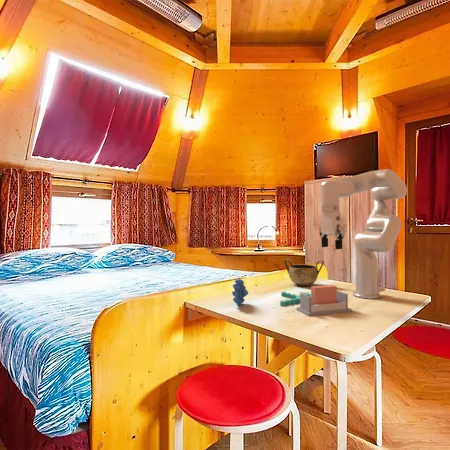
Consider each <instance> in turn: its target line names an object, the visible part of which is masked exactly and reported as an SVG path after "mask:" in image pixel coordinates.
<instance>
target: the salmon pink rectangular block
mask: <svg viewBox="0 0 450 450" xmlns="http://www.w3.org/2000/svg"><path fill="white" fill-rule="evenodd" d="M310 286H311V287H310V288H311V289H310V291H311V292H310V294H311V305H318V304H329V303H337V291H338V290H337V287H338V286H336V285H333V284H328V285H313V286H312V285H310Z"/></svg>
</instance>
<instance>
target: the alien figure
mask: <svg viewBox="0 0 450 450" xmlns="http://www.w3.org/2000/svg"><path fill="white" fill-rule="evenodd" d="M280 293H281V295H280V297H285V298H288V299H285V300H280V307H286V306H291V305H296V304H300V295H297V294H294V293H291V292H287V291H281V292H280ZM300 293H303V294H305V295H308V296H310V297H311V293H310V292H299V294H300ZM289 298H290V299H289Z"/></svg>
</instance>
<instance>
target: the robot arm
mask: <svg viewBox="0 0 450 450" xmlns="http://www.w3.org/2000/svg"><path fill="white" fill-rule="evenodd" d="M369 190H370V196H371V201H372V205H373V207H372V209H371V212H370V213H369V216H368V217H367V220H366V221H365V224H364V226H365V227H364V228H365V230H366V231H359V232H357V233H355V236H354V239H353V243H354V244H353V245H354V248H355V256H356V257H355V260H356V261H355V265H356V266H355V271H356V272H355V290H354V291H353V292H352V295H353V296H354V297H357V298H362V299H368V300H369V299H375V300H376V299H380V298H381V297H382V294H381V293H380V292H385V291H386V288H385V287H384V286H383V287H380V286H378V259H377V256H376V254H375V252H376V253H388V252H390V251H391V250H392V248H393V247H394V245H395V244H396V243H395V242H396V240H397V238H398V237H399V234H400V231H401V228H402V221H401V219H400V217H399V216H398V215H395V214H391V213H392V210H391V207H390V205H389V204H388V203H387V200H388V201H389V200H401V199H404V198H405V197H406V195H407V193H408V188H407V185H406V183H405V182H404V181H403V180H402V179H401V177H400V176H399V175H398V174H397V173H396V172H394V171H393V170H391V169H389V168H384V169H377V170H369V171H367V172H364V173H363V172H362V173H360V174H357V175H352V176H348V177H345V178H339V179H336V180H329V181H328V180H327V181H323V182H321V185H320V194H321V195H320V199H321V200H320V201H321V218H320V227H318V233H319V236H320V241H321V248H328V247H329V238H328V236H333V237H334V238H335V240H334V247H335V248H334V249H335V250H343V240H344V237H345V233H346V229H345V228H344V225H343V217H342V213H341V212H340V208H341V207H340V198H341V199H343V198H349V197H351V196H353V195H354V194H359V193H364V192H366V191H369Z"/></svg>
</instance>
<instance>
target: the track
mask: <svg viewBox="0 0 450 450" xmlns="http://www.w3.org/2000/svg"><path fill="white" fill-rule="evenodd" d="M303 293H304V292H301V293H300V292H299V296H300V303H299V305H300V306H298V307H296V311H298V312H301V314H304V315H306V316H307V317H312V316H321V315H331V314H334V315H335V314H342V313H351V312H353V309H352V308H349V306H348V305H349V301H348V300H349V299H348V298H349V296H348V295H349V294H348V293H345V292H342V291H340V290H337V303H329V304H318V305H311V297H310V296H308V295H305V294H303Z"/></svg>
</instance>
